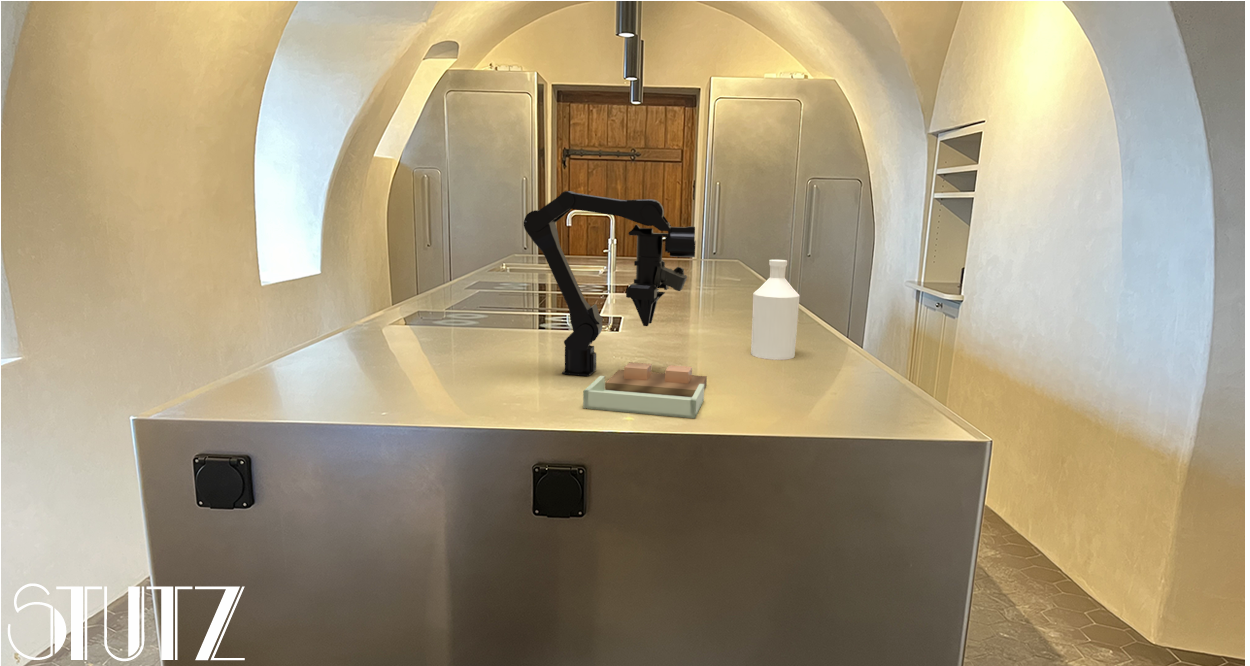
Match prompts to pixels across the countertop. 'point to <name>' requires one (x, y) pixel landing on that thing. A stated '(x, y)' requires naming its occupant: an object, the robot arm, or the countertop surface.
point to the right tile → (678, 374)
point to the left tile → (637, 371)
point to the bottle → (775, 316)
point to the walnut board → (654, 385)
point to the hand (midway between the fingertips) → (647, 324)
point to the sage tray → (641, 401)
